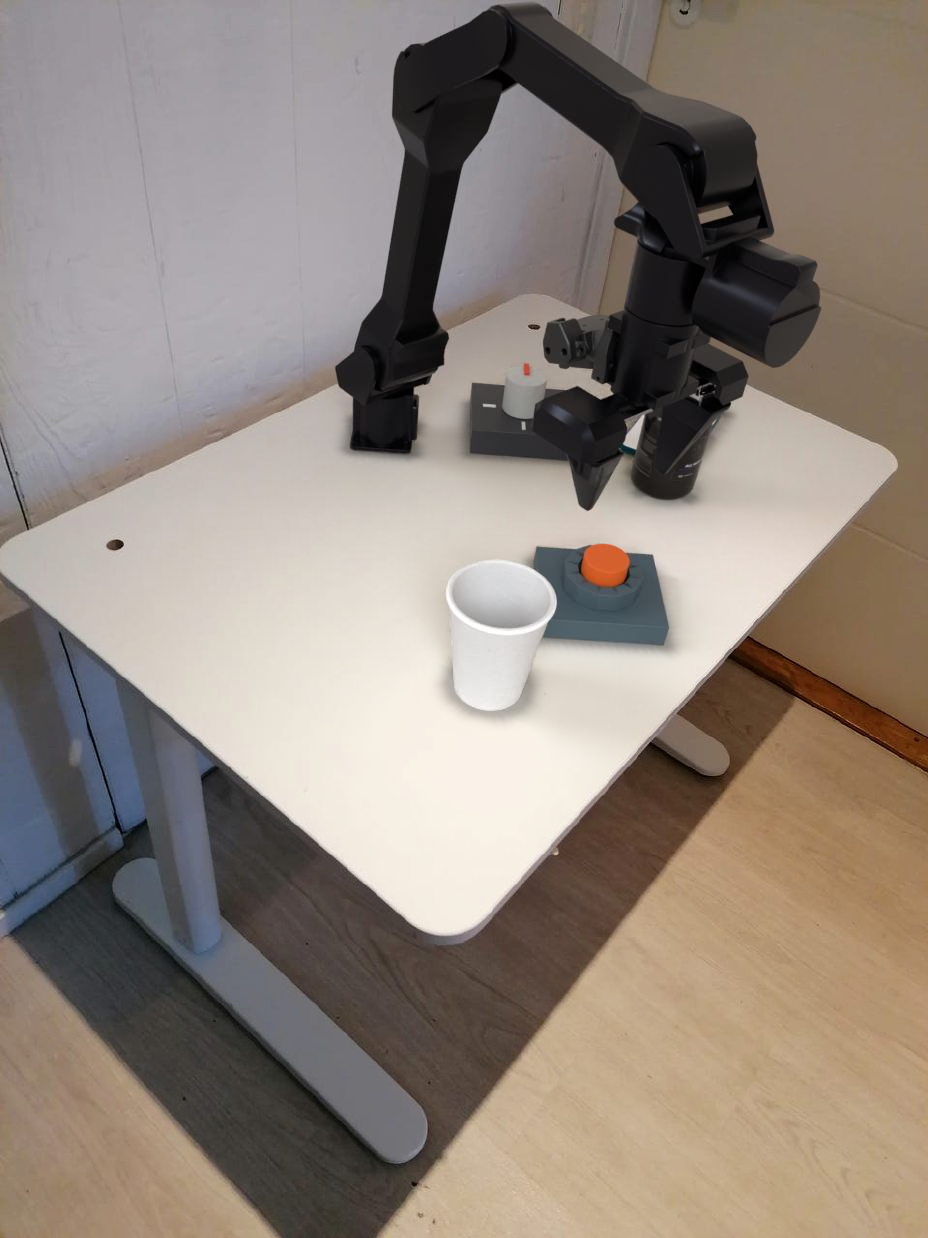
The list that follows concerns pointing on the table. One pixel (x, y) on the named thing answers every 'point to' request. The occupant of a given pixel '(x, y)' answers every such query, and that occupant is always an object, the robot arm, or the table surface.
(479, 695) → the dixie cup
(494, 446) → the timer panel
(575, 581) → the button housing
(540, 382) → the timer knob
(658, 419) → the supplement bottle
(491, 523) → the table surface
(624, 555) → the button
